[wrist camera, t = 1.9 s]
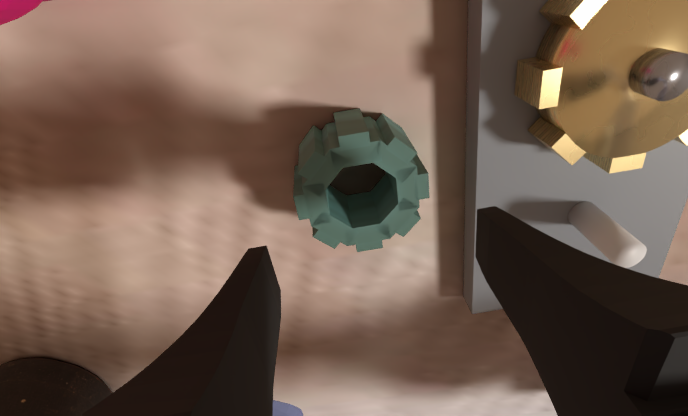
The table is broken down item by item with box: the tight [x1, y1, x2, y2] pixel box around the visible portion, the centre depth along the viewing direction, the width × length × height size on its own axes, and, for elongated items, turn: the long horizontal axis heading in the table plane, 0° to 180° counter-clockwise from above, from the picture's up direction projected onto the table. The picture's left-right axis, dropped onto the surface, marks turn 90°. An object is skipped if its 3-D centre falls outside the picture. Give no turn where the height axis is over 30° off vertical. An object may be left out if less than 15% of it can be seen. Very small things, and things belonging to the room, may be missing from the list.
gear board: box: [463, 0, 688, 314], centre depth 18 cm, size 18×11×5 cm, turn 9°
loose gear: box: [293, 108, 429, 252], centre depth 18 cm, size 6×6×3 cm
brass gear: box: [514, 0, 688, 174], centre depth 15 cm, size 8×8×3 cm
